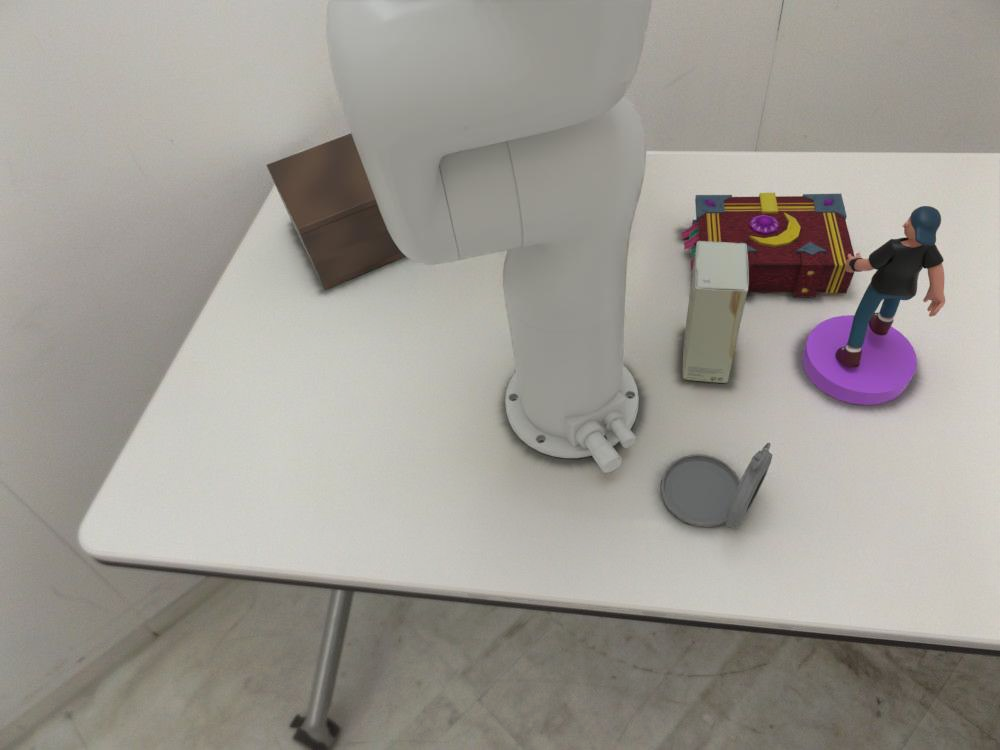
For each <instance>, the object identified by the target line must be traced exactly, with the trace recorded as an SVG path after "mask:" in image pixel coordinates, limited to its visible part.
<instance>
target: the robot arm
mask: <svg viewBox="0 0 1000 750" xmlns="http://www.w3.org/2000/svg"><path fill="white" fill-rule="evenodd" d="M652 5H653V0H328V1H327V6H326V22H325V23H326V26H325V32H326V43H327V51H328V58H329V62H330V68H331V72H332V76H333V81H334V85H335V88H336V92H337V95H338V98H339V102H340V105H341V108H342V111H343V112H342V113H343V114H344V118H345V120H346V124H347V126H348V128H349V129H348V130H349V131H350V133H351V134H352V137H353V140H354V142H355V145H356V148H357V150H358V153H359V156H360V158H361V161H362V164H363V166H364V169H365V172H366V175H367V177H368V180H369V183H370V185H371V188H372V191H373V193H374V196H375V199H376V202H377V204H378V207H379V210H380V213H381V215H382V217H383V220H384V222H385V225H386V227H387V229H388V232H389V234H390V235H391V237H392V239H393V241H394V242H395V244H396V245H397V247H398V248H399V250H400V251H401V252H402V253H403V254H404V255H405V257H406V258H407V259H408V260H411V261H412V262H415V263H418V264H421V265H441V264H447V263H454V262H459V261H463V260H467V259H473V258H476V257H477V258H478V257H480V256H481V257H482V256H487V255H491V254H495V253H500V252H504V251H506V253H505V256H504V257H505V258H504V261H503V266H502V275H501V277H502V279H501V280H502V291H503V297H504V302H505V309H506V315H507V321H508V328H509V335H510V340H511V346H512V352H513V358H514V366H515V370H516V371H515V372H514V374H513V375H512V377H511V379H510V380H509V382H508V385H507V387H506V388H507V389H506V390H505V397H504V403H505V413H506V415H507V420H508V422H509V424H510V427H511V428H512V430H513V432H514V433H515V434H516V436H517V437H518V438H519V440H521V441H522V442H524V443H525V444H526V445H527V446H528V447H530V448H531V449H534V450H535V451H537V452H539V453H541V454H544V455H547V456H550V457H555V458H560V459H561V458H562V459H581V458H587V457H591V456H592V458H593V460H594V461H595V463H596V464H597V465H598V467H599V469H600V470H601V471H602V473H604V474H610V473H612V472H614V471H615V470H617V469H618V468H619V467H620V466H621V465H622V463H623V458H622V457H621V456H620V454H619V453H618V452H617V451H616V449H615V448H614V446H616V445H617V444H618V443H620V444H621V446H622V447H623V448H624V449H628V448H630V447H632V446H633V445H634V444H635V443H636V442H637V439H638V438H637V436H636V435H635V434H634V433H633V431H632V430H631V429H632V427H633V426H634V424H635V421H636V419H637V415H638V411H639V402H640V401H639V400H640V396H639V388H638V386H637V383H636V380H635V378H634V376H633V374H632V373H631V372H630V371H629V369H628V368H627V367H626V366H625V365H624V350H625V349H624V346H625V321H626V320H625V317H626V313H625V312H626V292H627V273H628V271H627V269H628V254H629V247H630V245H629V244H630V238H631V231H632V227H633V223H634V219H635V215H636V211H637V207H638V204H639V201H640V198H641V194H642V189H643V184H644V179H645V175H646V166H647V165H646V164H647V141H646V132H645V128H644V125H643V121H642V118H641V116H640V114H639V112H638V110H637V107H636V106H635V105H634V104H633V102H632V100H631V99H630V98H629V97H628V96H627V95H626V93H627V92H628V91H629V89H630V87H631V85H632V83H633V80H634V78H635V76H636V73H637V71H638V68H639V64H640V60H641V57H642V53H643V49H644V44H645V42H646V41H645V40H646V35H647V31H648V26H649V20H650V16H651V15H650V14H651V10H652Z"/></svg>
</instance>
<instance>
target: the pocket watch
mask: <svg viewBox="0 0 1000 750" xmlns="http://www.w3.org/2000/svg"><path fill="white" fill-rule="evenodd" d="M770 448H771V442H766V444H765V445H764V446H763V447H762V448H761V450H758V451H757V452H756V453H755V454H753V456H752V457H751V460H750V461H749V463H748V465H747V467H746V469H745V471H744V472H743V474H742V476H741V478H739V476H738V474H737V472H736V471H735V470H734V469H732V468H731V467H730V465H729V464H727V463H726V462H724V461H722V460H721V459H718V458H717V457H714V456H711V455H707V454H699V453H697V454H688V455H685V456H681V457H679V458H678V459H676V460H674V461H672V462H671V463H670V464H669V465H668V467H666V469H665V471H664V472H663V475H662V478H661V481H660V489H661V490H660V491H661V496H662V500H663V502H664V504H665V505H666V507H667V509H668V510H669V511H670V512H671V514H673V515H674V516H675V517H677V518H678V519H680V520H681V521H682V522H685V523H687V524H689V525H692V526H695V527H701V528H702V527H704V528H706V527H707V528H709V527H711V528H712V527H716V526H720V525H722V524H725V526H727V527H729V528H731V529H738V528H739V527H740V526H741V525H742V524H743V522H744V520H745V518H746V516H747V515H748V512H749V511H750V509H751V507H752V505H753V503H754V501H755V499H756V498H757V495H758V492H759V491H760V488H761V487H762V485H763V483H764V481H765V478H766V476H767V474H768V471H769V469H770V466H771V463H772V459H773V454H772V453H771V452H770V451H769V450H770Z"/></svg>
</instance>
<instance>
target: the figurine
mask: <svg viewBox="0 0 1000 750" xmlns="http://www.w3.org/2000/svg"><path fill="white" fill-rule="evenodd" d="M941 224H942V215H941V213H940V211H939V210H938V209H937V208H936V207H933V206H930V205H922V206H921V205H920V206H919V207H917V208H915V209H913V210H912V212H911V214H910V216H909V217H908V219H907V221H905V222H904V224H903V225H902V228H904V229H903V234H904V236H905V237H900V238H890V239H889V240H887V241H886V242H885V243H883V244H882V245H881V246H880V247H878V248H876V249H875V250H874V251H872V252H871V253H870V254H869V255H868V258H863V257H861V253H860V252H856V253H855V255H854V256H855V257H853V256H851V254H848V260H847V261H846V265H845V266H846V272H850V273H853V272H854V273H855V272H856V273H861V272H870V271H873V270H876V271H875V273H874V274H873V275H872V277H871V279H870V283H869V284H868V286H867V288H866V289H865V292H864V294H863V295H862V297H861V299H860V301H859V303H858V306H857V308H856V311H855V313H854V314H851V315H850V314H849V315H839V316H834V317H830V318H828V319H827V318H826V319H825V320H823V321H821V322H820V323H818V324H817V325H816V326H815V327H814V328H812V329H811V332H810V333H809V335H808V337H807V339H806V342H805V345H804V348H803V351H802V355H801V363H802V367H803V370H804V372H805V374H806V376H807V378H808V379H809V380H810V381H811V383H812V384H813V385H814V386H815V387H816V388H817V389H819V390H820V391H821V392H823V393H825V394H826V395H828V396H829V397H831V398H834V399H836V400H838V401H841V402H843V403H848V404H852V405H859V406H875V405H880V404H881V405H882V404H885V403H888V402H891V401H893V400H895V399H896V398H898V397H900V396H901V394H903V392H904V391H906V389H907V388H908V385H909V384H910V382H911V380H912V378H913V376H914V375H915V373H916V370H917V365H918V358H917V354H916V352H915V349H914V346H913V345H912V343H911V342H910V340H908V338H907V337H905V335H904V334H903V333H902V332H900V331H899V330H898V329H896V328H895V327H893V323H894V317H895V316H896V315H897V311H898V308H899V305H900V303H901V301H909V300H911V299H913V298H914V297H916V296H917V292H918V280H919V275H920V272H921V271H922V270H923V269H926V270H927V276H928V281H929V287H928V289H927V291H926V295H925V296H924V298H923V300H922V301H923V303H927V302H928V301H931V302H930V304H929V305H928V307H927V309H926V310H927V311H928V312H929V313H928V317H935V316H937V315H938V313H939V312H940V311H941V309H942V308H943V307H944V306H945V304H946V296H945V270H944V265H943V262H944V260H945V259H944V257H943V255H942V254H941V252H940V250H939V249H938V246H937V245H936V243H937V232H938V230H939V228H940V226H941ZM881 303H882V304H881ZM880 304H881V306H880ZM879 306H880V309H879V312H876V311H877V310H878V308H879Z"/></svg>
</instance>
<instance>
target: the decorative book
mask: <svg viewBox="0 0 1000 750" xmlns="http://www.w3.org/2000/svg"><path fill="white" fill-rule="evenodd" d="M844 203H845V202H844V199H843V195H842V193H803V194H802V195H801V196H800V195H798V196H797V195H794V196H793V195H792V196H791V195H790V196H788V195H786V196H784V195H783V196H782V195H781V196H780V195H779V196H776V192H759V194H758V196H733V194H695V198H694V204H695V218H696V219H692V222H691V226H689V227H688V228H686V229H685V230H683V231H681V240H684V239H687V238H688V239H687V240H685V241H684V242H683V249H684V251H686V250H688V249H690V248H692V247H694V248H693V249H691V261H690V272H693V268H694V260H695V252H696V245H697V242H698V241H711V242H727V243H745V244H747V254H748V271H749V284H748V292H747V295H748V294H749V293H790V294H791V293H792V297H795V298H796V297H797V298H798V297H799V298H801V297H802V298H815V297H816V295H817V294H848V290H849V287H850V285H851V283H852V279H853V277H854V274H855V272H853V273H850V272H846V266H845V265H846V261H847V260H848V254H851V256H853V257H855V256H856V255H855V253H854V252H855V251H854V248H853V244H852V240H851V237H850V232H849V228H848V225H847V217H848V216H847V212H846V208H845V204H844Z"/></svg>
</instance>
